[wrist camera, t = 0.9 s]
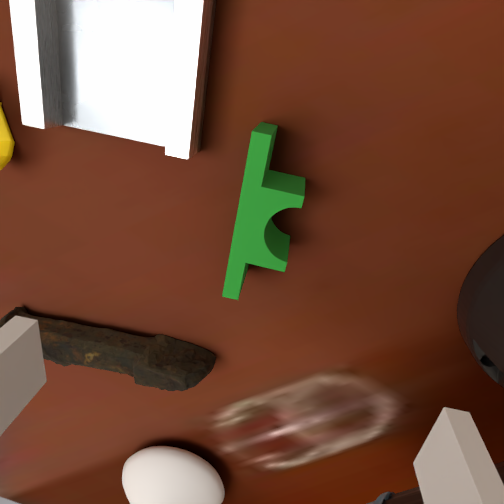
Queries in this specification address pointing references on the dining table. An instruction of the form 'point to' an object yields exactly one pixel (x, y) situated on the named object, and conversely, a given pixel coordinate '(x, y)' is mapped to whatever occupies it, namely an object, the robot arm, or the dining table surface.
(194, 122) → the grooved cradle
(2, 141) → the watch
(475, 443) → the robot arm
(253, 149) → the pipe clamp
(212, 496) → the flower in vase
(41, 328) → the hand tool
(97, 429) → the dining table surface
